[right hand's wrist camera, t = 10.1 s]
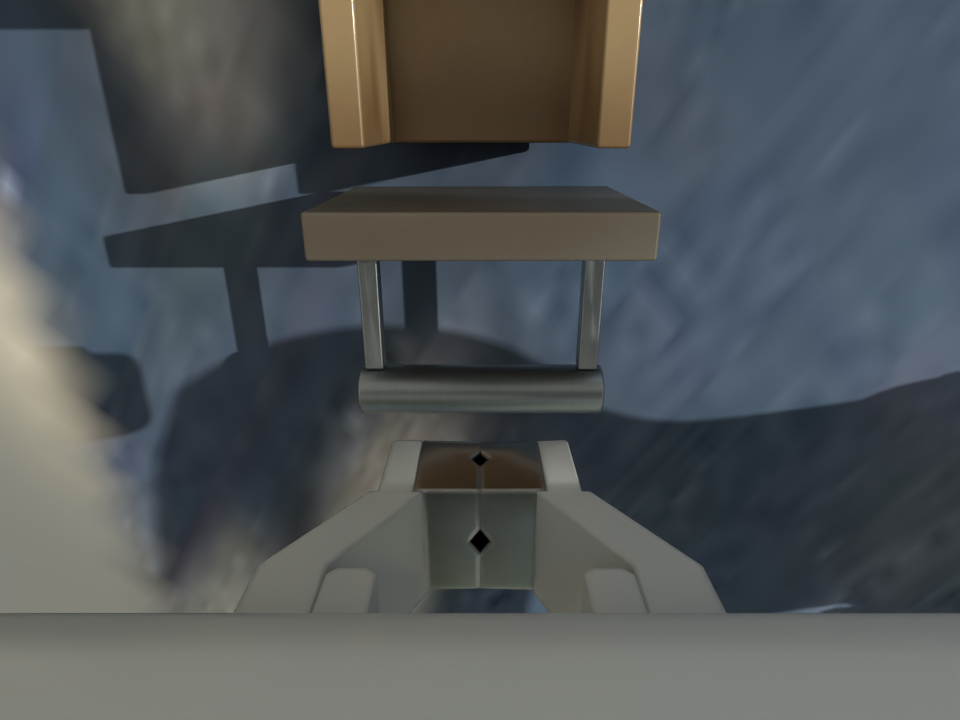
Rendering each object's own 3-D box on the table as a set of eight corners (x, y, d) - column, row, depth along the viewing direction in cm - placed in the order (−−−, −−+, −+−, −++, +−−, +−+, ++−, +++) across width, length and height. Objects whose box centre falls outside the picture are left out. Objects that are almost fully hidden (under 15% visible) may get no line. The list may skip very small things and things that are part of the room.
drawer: (594, 370, 23) (635, 459, 17) (368, 371, 23) (327, 459, 17) (654, -417, 15) (773, -792, 9) (306, -415, 15) (185, -789, 9)
